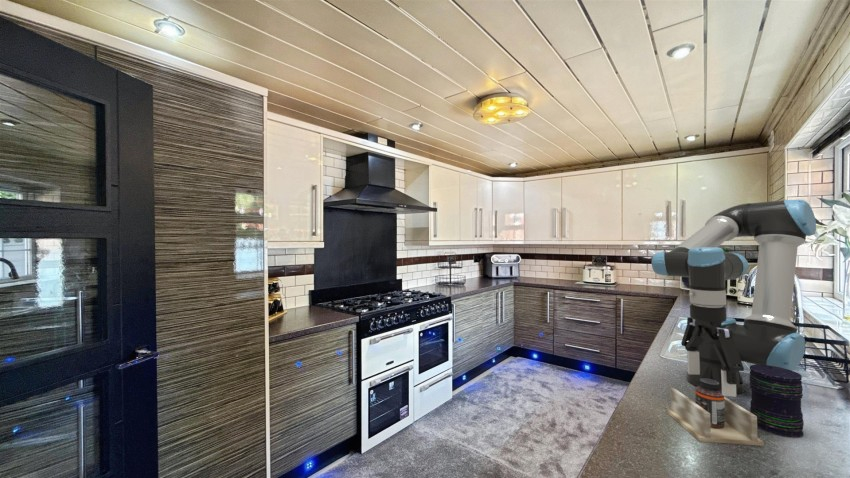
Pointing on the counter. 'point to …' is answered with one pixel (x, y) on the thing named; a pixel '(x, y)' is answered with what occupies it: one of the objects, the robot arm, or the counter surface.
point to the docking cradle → (697, 421)
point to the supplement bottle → (711, 401)
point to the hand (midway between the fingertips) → (710, 384)
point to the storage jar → (777, 400)
